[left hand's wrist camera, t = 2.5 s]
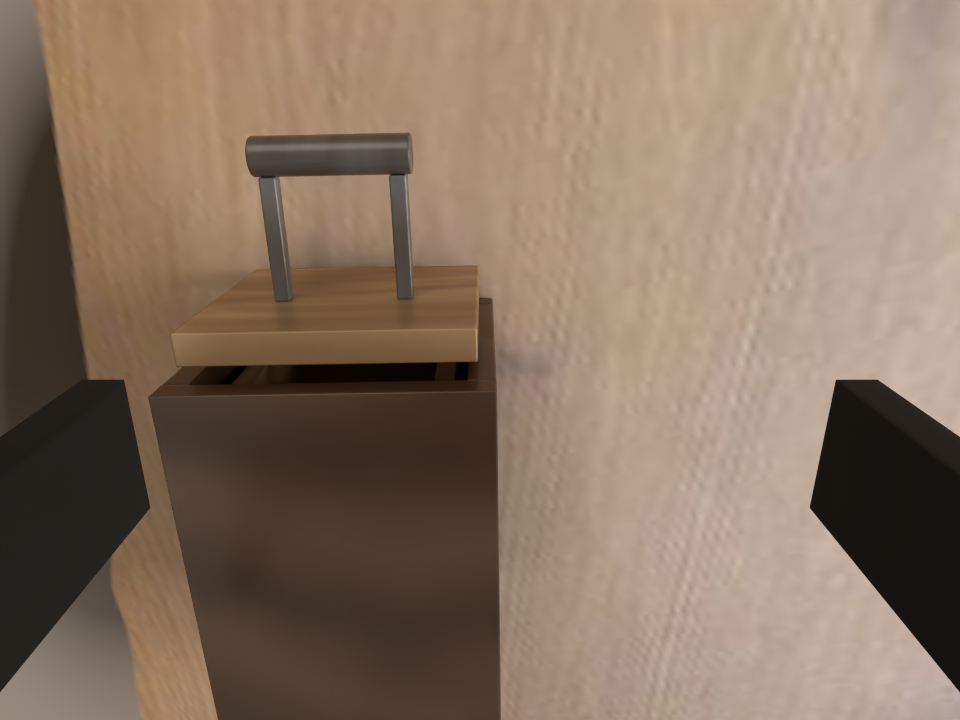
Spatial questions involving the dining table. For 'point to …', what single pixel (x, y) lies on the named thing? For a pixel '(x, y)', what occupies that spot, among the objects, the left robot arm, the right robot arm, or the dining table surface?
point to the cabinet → (340, 540)
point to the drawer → (337, 288)
